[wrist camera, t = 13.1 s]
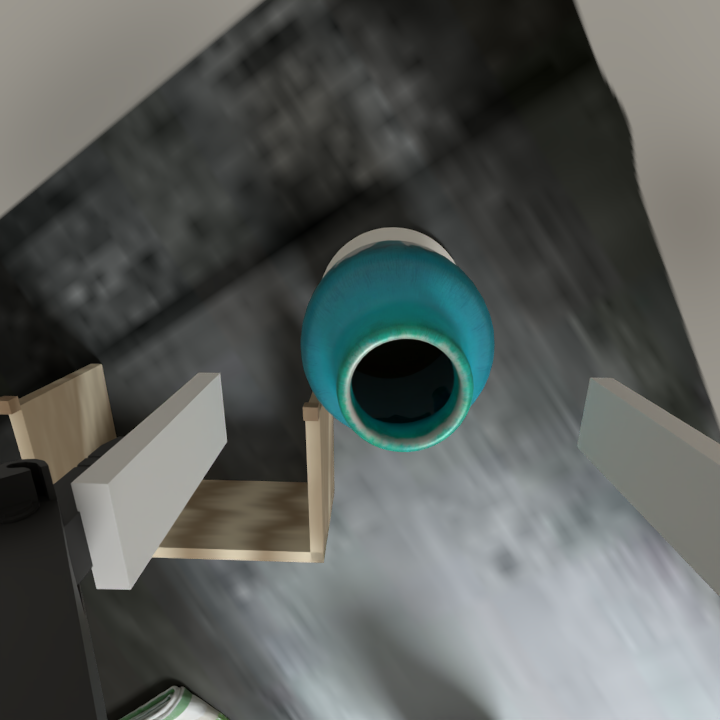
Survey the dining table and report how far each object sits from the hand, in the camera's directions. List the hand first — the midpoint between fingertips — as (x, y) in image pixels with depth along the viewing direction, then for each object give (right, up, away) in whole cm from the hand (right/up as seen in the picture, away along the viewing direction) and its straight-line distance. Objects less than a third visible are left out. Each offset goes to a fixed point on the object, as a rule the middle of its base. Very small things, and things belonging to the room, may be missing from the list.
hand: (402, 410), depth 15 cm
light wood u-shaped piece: (-15, -4, +24) cm, 29 cm away
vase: (+1, +6, +19) cm, 21 cm away
